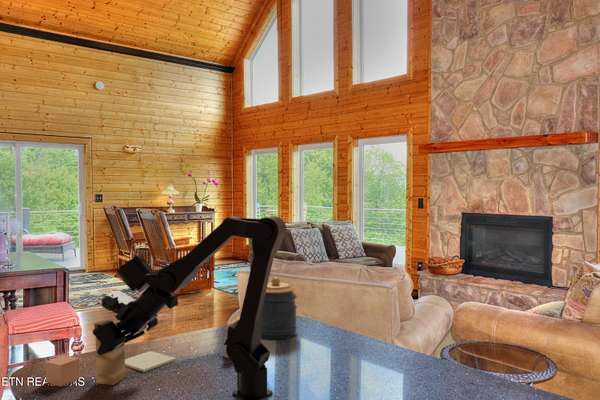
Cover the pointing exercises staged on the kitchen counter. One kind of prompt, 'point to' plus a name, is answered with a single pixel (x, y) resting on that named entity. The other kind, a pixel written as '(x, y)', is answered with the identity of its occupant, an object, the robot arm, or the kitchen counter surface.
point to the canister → (278, 311)
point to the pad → (148, 361)
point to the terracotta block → (62, 370)
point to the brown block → (110, 362)
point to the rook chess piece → (226, 345)
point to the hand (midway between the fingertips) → (105, 350)
